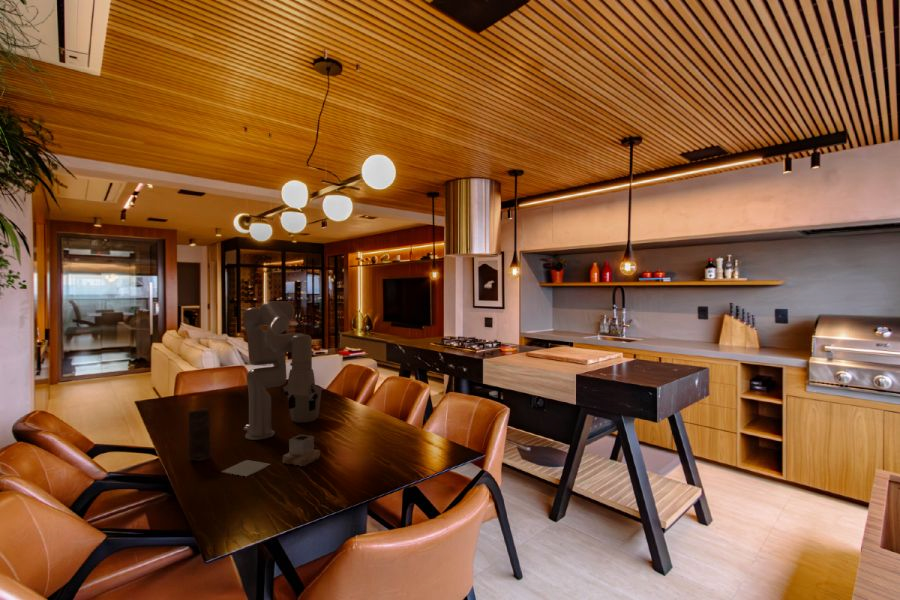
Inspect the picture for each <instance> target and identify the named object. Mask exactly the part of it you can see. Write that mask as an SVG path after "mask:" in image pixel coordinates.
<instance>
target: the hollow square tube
mask: <svg viewBox="0 0 900 600" xmlns="http://www.w3.org/2000/svg"><path fill="white" fill-rule="evenodd" d="M301 439H304V440H301ZM288 449H289V451H288V453H289V455H295V456H301V457H304V456H306V455H307V454H309V453H311V452H313V451H314V449H315V436H314V435H307V434H298V435H296V436H294V437H292V438H290V439H288Z"/></svg>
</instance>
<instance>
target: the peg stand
mask: <svg viewBox="0 0 900 600" xmlns="http://www.w3.org/2000/svg"><path fill="white" fill-rule="evenodd" d="M301 440H304V439H301ZM319 457H320V458H321V450H320V449H315V448H314V451H313V452H311V453H309V454H307V455H306V456H304V457H301V456H295V455H289V452H287V453H284V454H283V455H282V464H284V463H286V465H290V464H293V465H292V466H296V465H299V466H298V467H302V466H304V467H306V466H308V465H310V464H311V463H313V462H315V461H316V459H317V460H318V459H320V458H319ZM314 460H315V461H314ZM309 463H310V464H309ZM307 464H308V465H307ZM305 465H306V466H305Z"/></svg>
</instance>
